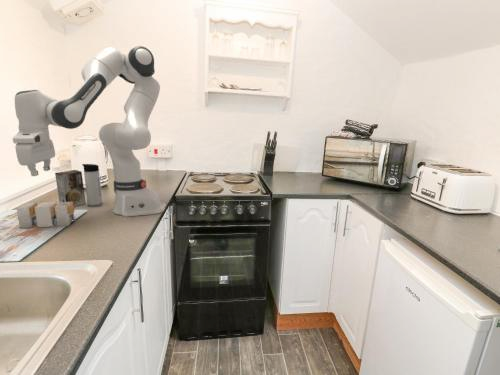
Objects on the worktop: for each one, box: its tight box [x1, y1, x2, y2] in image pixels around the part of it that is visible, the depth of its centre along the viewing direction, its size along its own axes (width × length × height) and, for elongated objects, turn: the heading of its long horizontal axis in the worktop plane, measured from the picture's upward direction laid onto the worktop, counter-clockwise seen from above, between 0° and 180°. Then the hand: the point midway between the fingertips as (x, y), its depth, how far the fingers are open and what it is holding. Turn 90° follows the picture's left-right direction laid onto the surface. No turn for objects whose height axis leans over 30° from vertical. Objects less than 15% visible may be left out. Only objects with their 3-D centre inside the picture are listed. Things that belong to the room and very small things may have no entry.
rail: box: [15, 202, 76, 229], centre depth 115 cm, size 18×6×8 cm, turn 101°
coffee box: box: [54, 169, 87, 208], centre depth 138 cm, size 9×6×16 cm
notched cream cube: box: [35, 201, 58, 228], centre depth 116 cm, size 6×6×8 cm
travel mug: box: [82, 163, 103, 208], centre depth 139 cm, size 6×7×20 cm
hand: (41, 173), depth 112 cm, fingers open, 8 cm apart
